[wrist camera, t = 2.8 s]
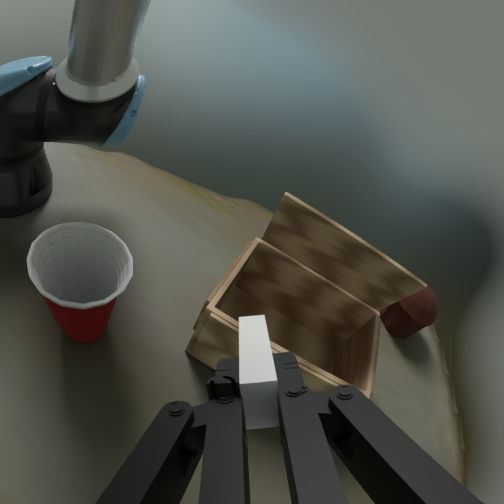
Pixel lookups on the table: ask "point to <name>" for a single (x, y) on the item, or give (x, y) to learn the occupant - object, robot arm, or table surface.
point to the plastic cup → (80, 275)
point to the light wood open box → (291, 320)
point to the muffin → (410, 313)
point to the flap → (338, 255)
